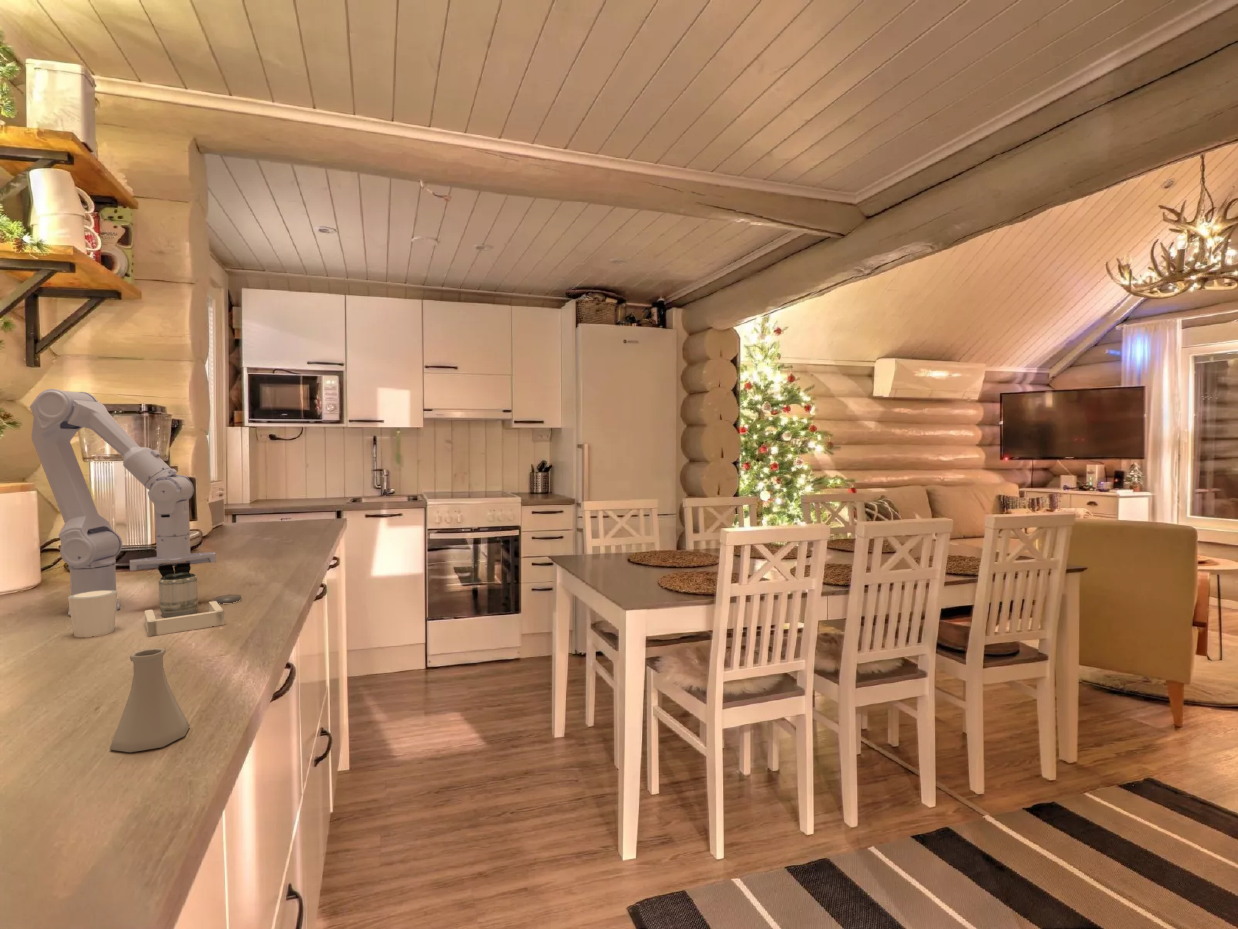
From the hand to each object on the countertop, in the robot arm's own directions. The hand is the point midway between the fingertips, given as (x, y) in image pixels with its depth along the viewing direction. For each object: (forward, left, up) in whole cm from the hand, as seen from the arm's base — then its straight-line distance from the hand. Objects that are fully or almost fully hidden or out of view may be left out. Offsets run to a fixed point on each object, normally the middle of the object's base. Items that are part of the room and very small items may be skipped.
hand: (175, 601), depth 136 cm
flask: (+71, -8, -1) cm, 72 cm away
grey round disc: (+2, +9, -1) cm, 9 cm away
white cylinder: (+13, -13, -1) cm, 19 cm away
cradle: (+17, 0, -1) cm, 17 cm away
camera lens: (+8, 0, -1) cm, 8 cm away
